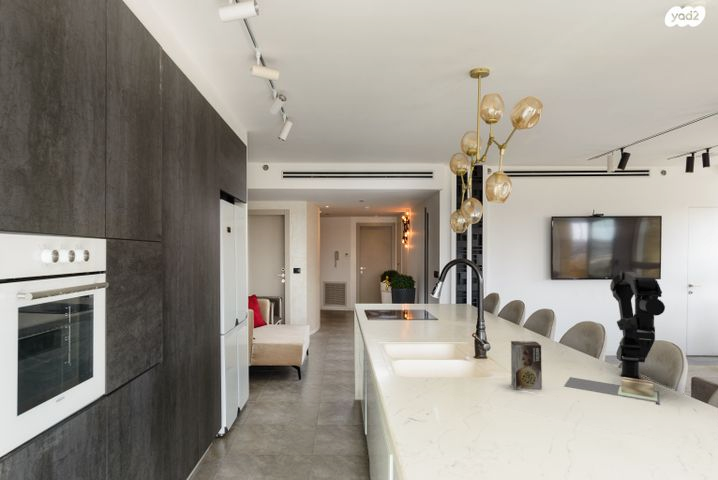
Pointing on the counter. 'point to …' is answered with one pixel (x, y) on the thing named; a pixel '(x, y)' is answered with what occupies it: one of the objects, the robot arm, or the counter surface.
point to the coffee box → (526, 365)
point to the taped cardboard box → (637, 387)
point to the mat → (607, 389)
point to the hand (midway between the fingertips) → (644, 355)
